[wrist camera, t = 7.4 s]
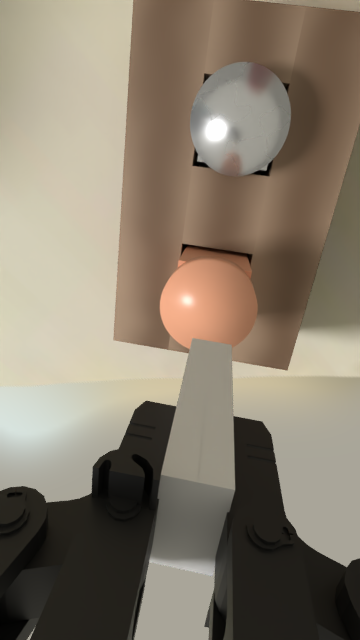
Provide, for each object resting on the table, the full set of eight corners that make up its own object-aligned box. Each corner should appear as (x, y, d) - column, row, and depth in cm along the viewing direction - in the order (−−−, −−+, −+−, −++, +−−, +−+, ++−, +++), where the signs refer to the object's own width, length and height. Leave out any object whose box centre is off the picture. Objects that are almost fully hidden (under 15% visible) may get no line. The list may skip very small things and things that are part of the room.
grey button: (194, 172, 27) (183, 169, 20) (205, 91, 25) (197, 55, 18) (263, 182, 27) (277, 182, 20) (280, 100, 25) (302, 68, 18)
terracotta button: (172, 303, 28) (155, 344, 21) (181, 234, 25) (165, 253, 18) (240, 314, 27) (246, 360, 20) (255, 245, 25) (267, 269, 18)
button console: (137, 306, 35) (113, 340, 27) (159, 43, 26) (134, -12, 19) (273, 329, 34) (287, 370, 26) (343, 64, 25) (391, 15, 18)
